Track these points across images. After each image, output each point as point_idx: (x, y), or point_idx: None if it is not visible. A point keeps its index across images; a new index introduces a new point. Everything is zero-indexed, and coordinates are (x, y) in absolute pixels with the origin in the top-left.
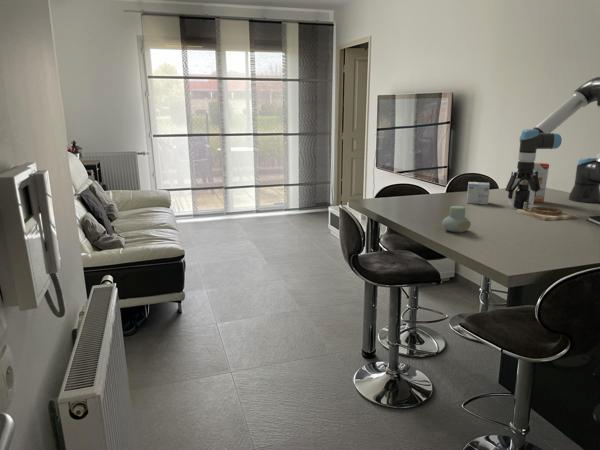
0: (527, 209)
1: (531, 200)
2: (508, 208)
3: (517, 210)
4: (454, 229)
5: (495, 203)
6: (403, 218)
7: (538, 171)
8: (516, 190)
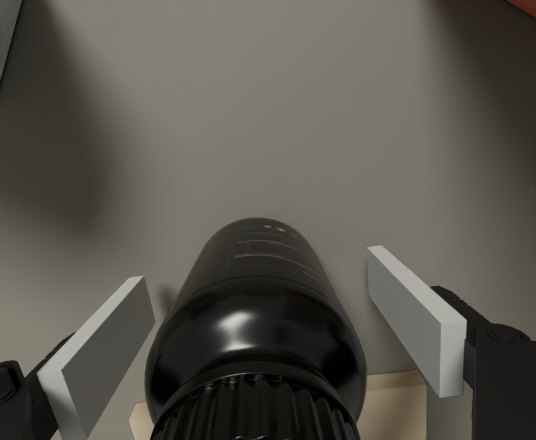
0: None
1: (382, 296)
2: None
3: (133, 421)
4: None
5: (107, 48)
6: None
7: None
8: (145, 389)
